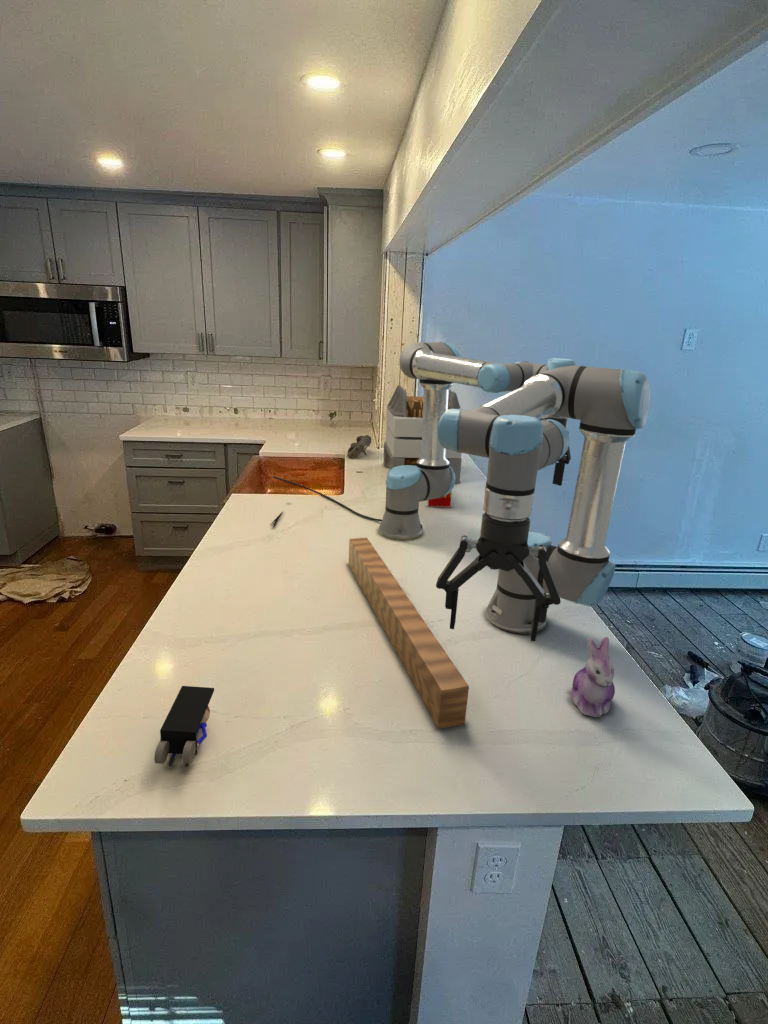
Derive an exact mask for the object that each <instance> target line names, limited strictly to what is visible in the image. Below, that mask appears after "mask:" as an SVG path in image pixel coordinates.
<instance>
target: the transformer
mask: <svg viewBox="0 0 768 1024" xmlns="http://www.w3.org/2000/svg"><path fill="white" fill-rule="evenodd" d="M407 394H408V393H407V390H406V389H404V388H403V387H402V385H399V384H398V385H397V386H396V388H395V390H394V392H393V394H392V395H391V398H390V400H389V402H388V404H387V405H386V413H385V414H386V415H385V423H386V428H385V438H384V442H383V466H384V467H388V468H389V470H390V469H392V468H394V467H397V466H401V465H404V466H406V465H413V466H417V460H418V459H419V458H420V457H421V450H422V422H423V396H415V395H414V396H413V395H412V396H411V395H407ZM448 409H462V408H461V405H460V402H459V398H458V395H457V392H455V391H453V390H452V389H451V388H449V394H448ZM445 457H446V459H447V460H448V461H449V466H450V467H451V468H452V469H453V472H454V473H455V484H459V483H461V472H462V461H463V460H462V453H460V452H459V453H457V452H456V451H453V450H449V449H446V455H445Z"/></svg>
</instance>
